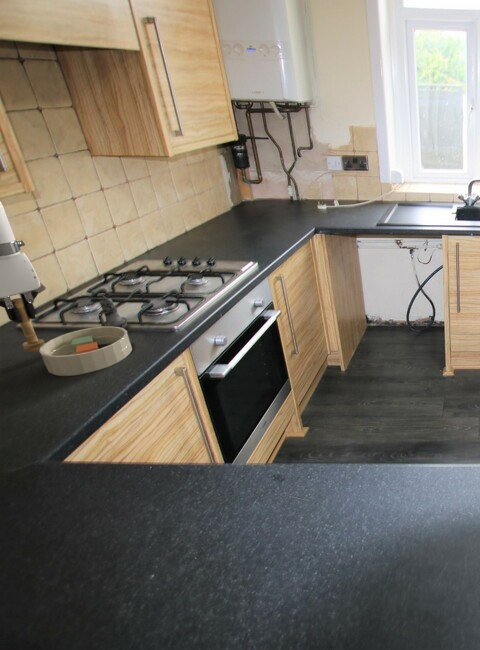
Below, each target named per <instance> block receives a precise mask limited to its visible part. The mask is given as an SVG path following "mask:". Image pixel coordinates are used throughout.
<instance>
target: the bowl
mask: <svg viewBox="0 0 480 650" xmlns="http://www.w3.org/2000/svg"><path fill="white" fill-rule="evenodd" d="M91 335H92V337H93V340H94V342H97V345H98V346H102V345H106V346H103V347H101V348H99V349H97V350H94V351H90V352H86V353H81V354H75V352H74V350H73V347H72V339H76V338H81V337H86V336H91ZM132 350H133V346H132V343H131V339H130V336H129V333H128V330H126V329H125V328H120V327H113V326H106V327H103V326H96V327H88V328H83V329H78V330H74V331H70V332H68V333H65V334H61V335H58V336H56V337H54V338H51V339H50V340H48V341H46V342H45V344H44V345H43V346H42V347H41V348H40V351H38V352H39V354H40V357H41V360H42V362H43V364H44V366H45V369H46V371H47V372H48V373H50V374H52V375H55V376H57V377H58V376H59V377H72V376H73V377H74V376H79V375H85V374H89V373H92V372H96V371H100V370H103V369H107V368H109V367H111V366H113V365H115V364H117V363H120V362H121V361H122V360H124V359H126V358H127V356H129V355H130V354H131V352H132Z"/></svg>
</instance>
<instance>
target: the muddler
mask: <svg viewBox="0 0 480 650" xmlns="http://www.w3.org/2000/svg"><path fill="white" fill-rule="evenodd" d="M11 301H12V304H13V305H14V307H15V308H17V309H18V311H19V313H20V316H21V319H22V322H21V323H19V325H20V327H21V331H22V332H23V335H24V337H25V340H26V341H24V342H23V343H22V347H23V350H24V353H27V354H32V353H33V354H34V353H38V352H39V351H40V348H41V347H42V346H43V345H44V344H45V343H46V342H45V340H44V339H42V338H38V337H37V333H36V331H35V328H34V326H33V324H32V321H31V319H30V318H29V316H28V313H27V310H26V308H25V305H24V303H23V300H22V298H21V297H17V298H12V299H11Z"/></svg>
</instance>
